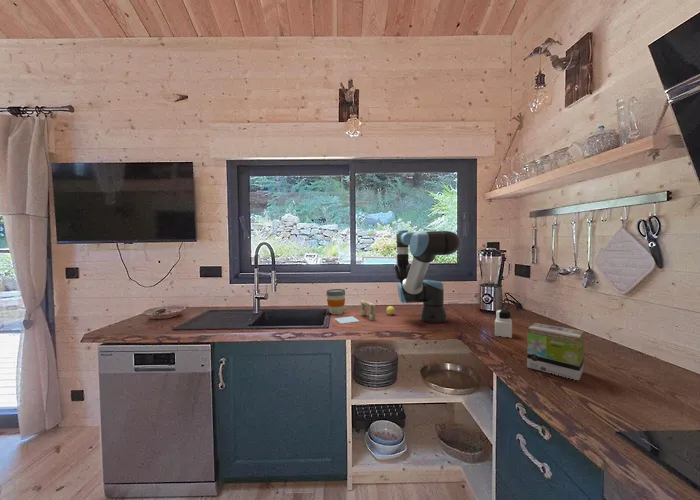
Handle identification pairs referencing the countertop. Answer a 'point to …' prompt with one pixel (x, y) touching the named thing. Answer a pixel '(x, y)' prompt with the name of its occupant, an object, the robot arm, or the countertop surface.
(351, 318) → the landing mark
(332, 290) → the reusable coffee cup
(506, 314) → the medicine bottle
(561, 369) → the tea box
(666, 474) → the countertop surface
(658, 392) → the countertop surface
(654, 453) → the countertop surface
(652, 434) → the countertop surface
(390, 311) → the ball
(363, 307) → the bridge
